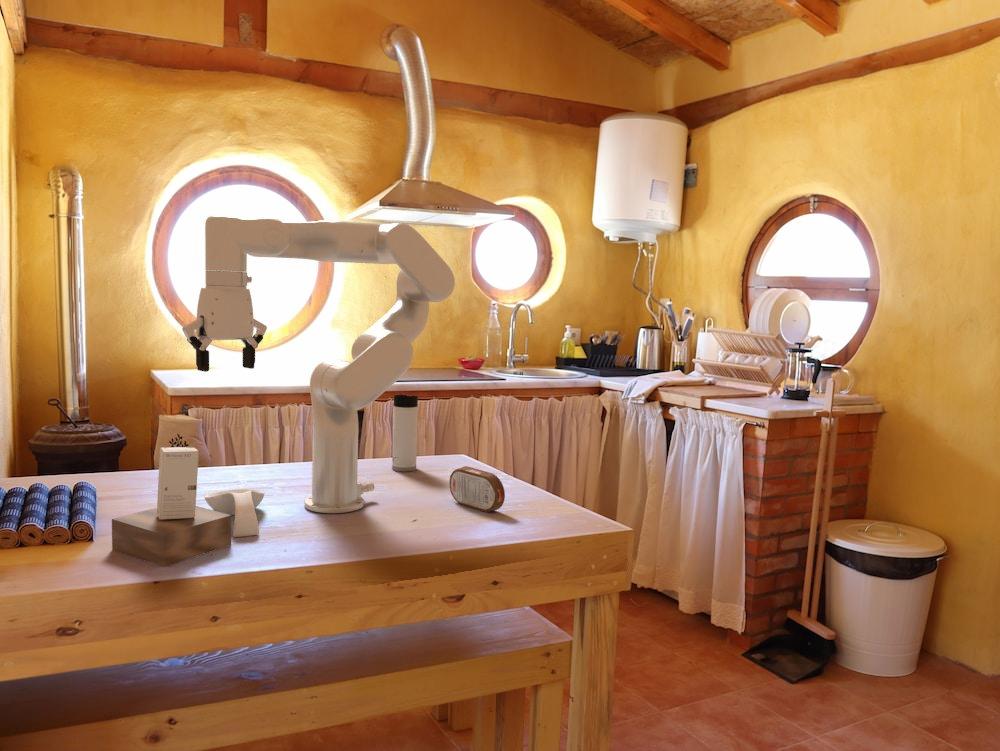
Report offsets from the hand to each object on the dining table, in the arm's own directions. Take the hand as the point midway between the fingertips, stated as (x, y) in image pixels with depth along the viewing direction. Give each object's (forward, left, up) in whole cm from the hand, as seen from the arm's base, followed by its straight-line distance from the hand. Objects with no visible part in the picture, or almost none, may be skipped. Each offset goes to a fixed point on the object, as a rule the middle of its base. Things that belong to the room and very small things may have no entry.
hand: (226, 369), depth 155 cm
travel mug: (-56, -9, -31) cm, 64 cm away
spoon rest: (-2, +1, -31) cm, 31 cm away
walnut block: (+15, +8, -31) cm, 35 cm away
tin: (-44, +27, -31) cm, 60 cm away
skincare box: (+15, +8, -25) cm, 30 cm away
